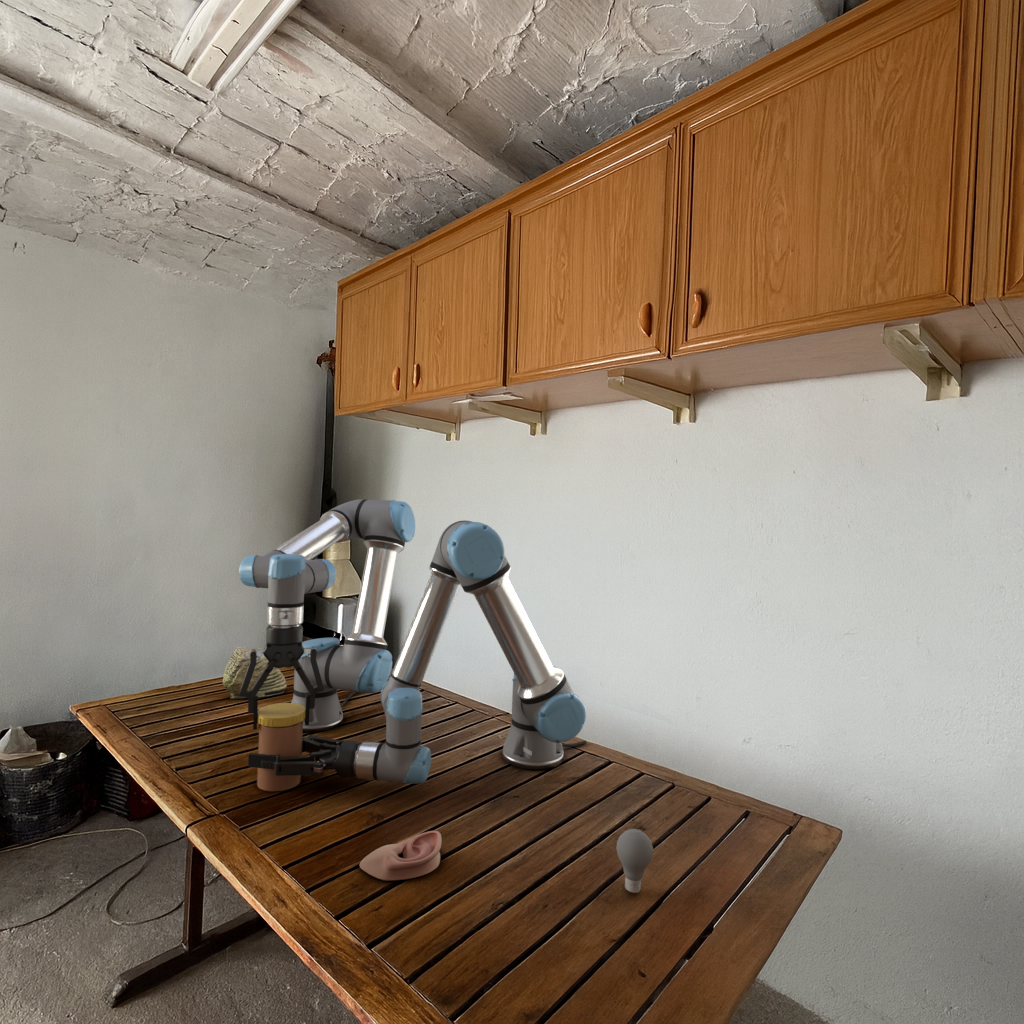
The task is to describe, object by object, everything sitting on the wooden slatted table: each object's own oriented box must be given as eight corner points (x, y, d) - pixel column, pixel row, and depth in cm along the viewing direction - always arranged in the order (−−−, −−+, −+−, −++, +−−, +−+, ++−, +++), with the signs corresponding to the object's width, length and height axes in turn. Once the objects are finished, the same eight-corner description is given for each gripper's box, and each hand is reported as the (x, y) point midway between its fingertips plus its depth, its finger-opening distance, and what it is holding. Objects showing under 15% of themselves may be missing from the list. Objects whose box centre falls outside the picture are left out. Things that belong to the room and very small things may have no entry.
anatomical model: (352, 851, 106) (379, 818, 118) (351, 875, 106) (379, 839, 118) (427, 864, 104) (448, 829, 115) (426, 888, 104) (447, 850, 115)
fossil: (218, 695, 195) (220, 647, 195) (278, 685, 208) (279, 640, 207) (228, 703, 189) (230, 653, 188) (289, 692, 201) (290, 645, 201)
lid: (248, 725, 135) (248, 716, 135) (268, 709, 145) (268, 701, 145) (295, 728, 134) (295, 719, 134) (312, 712, 144) (312, 704, 144)
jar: (263, 772, 144) (266, 706, 144) (304, 772, 145) (307, 706, 144) (251, 791, 135) (253, 720, 134) (295, 791, 136) (298, 720, 135)
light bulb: (610, 879, 108) (613, 822, 108) (644, 879, 109) (647, 822, 109) (619, 902, 102) (622, 840, 102) (655, 901, 103) (658, 840, 103)
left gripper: (227, 630, 132) (224, 736, 132) (339, 626, 140) (335, 726, 140) (229, 623, 138) (226, 724, 139) (336, 620, 147) (332, 715, 147)
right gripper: (339, 800, 127) (233, 789, 129) (374, 756, 149) (283, 748, 151) (340, 763, 127) (234, 753, 129) (375, 725, 149) (284, 717, 151)
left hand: (281, 725), depth 140 cm, fingers closed on lid, 10 cm apart
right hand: (260, 750), depth 140 cm, fingers closed on jar, 9 cm apart
